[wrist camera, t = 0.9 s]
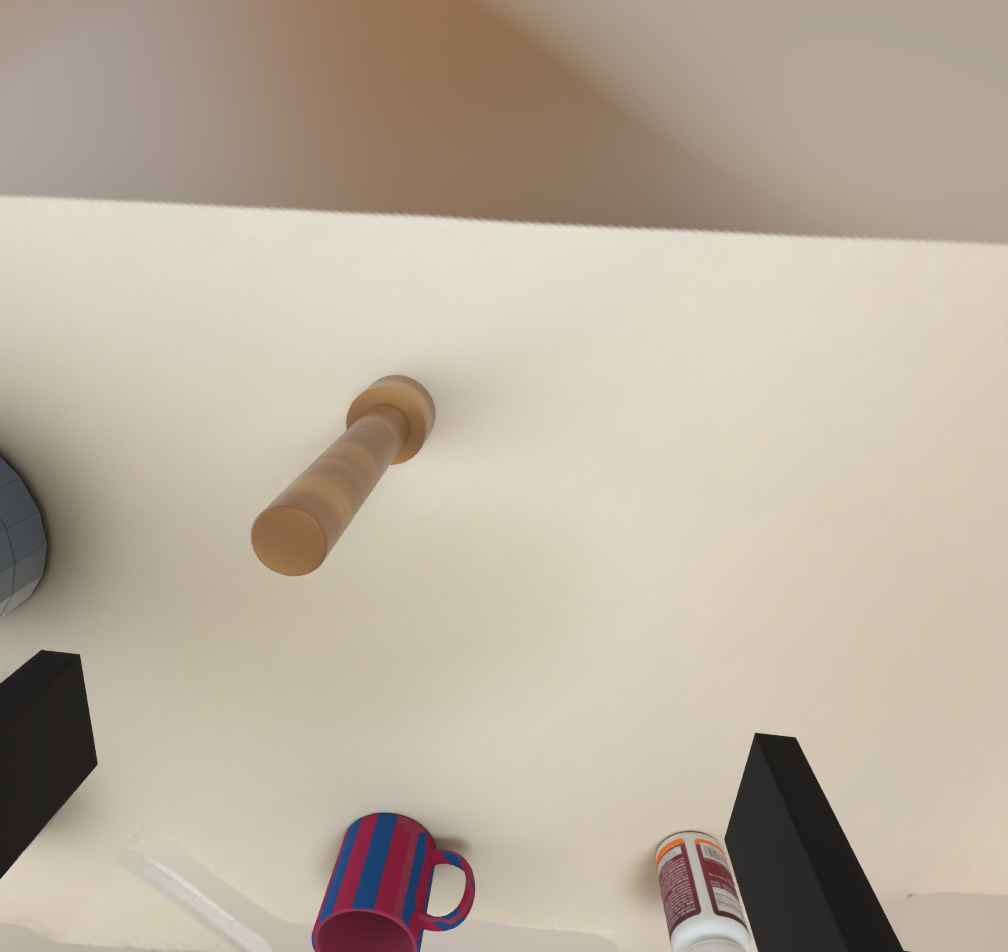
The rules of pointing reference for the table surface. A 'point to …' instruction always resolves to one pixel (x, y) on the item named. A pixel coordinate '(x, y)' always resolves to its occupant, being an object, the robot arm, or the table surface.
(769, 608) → the table surface
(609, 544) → the table surface
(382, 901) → the mug
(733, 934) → the pill bottle
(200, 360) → the table surface
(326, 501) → the muddler
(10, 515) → the bowl
